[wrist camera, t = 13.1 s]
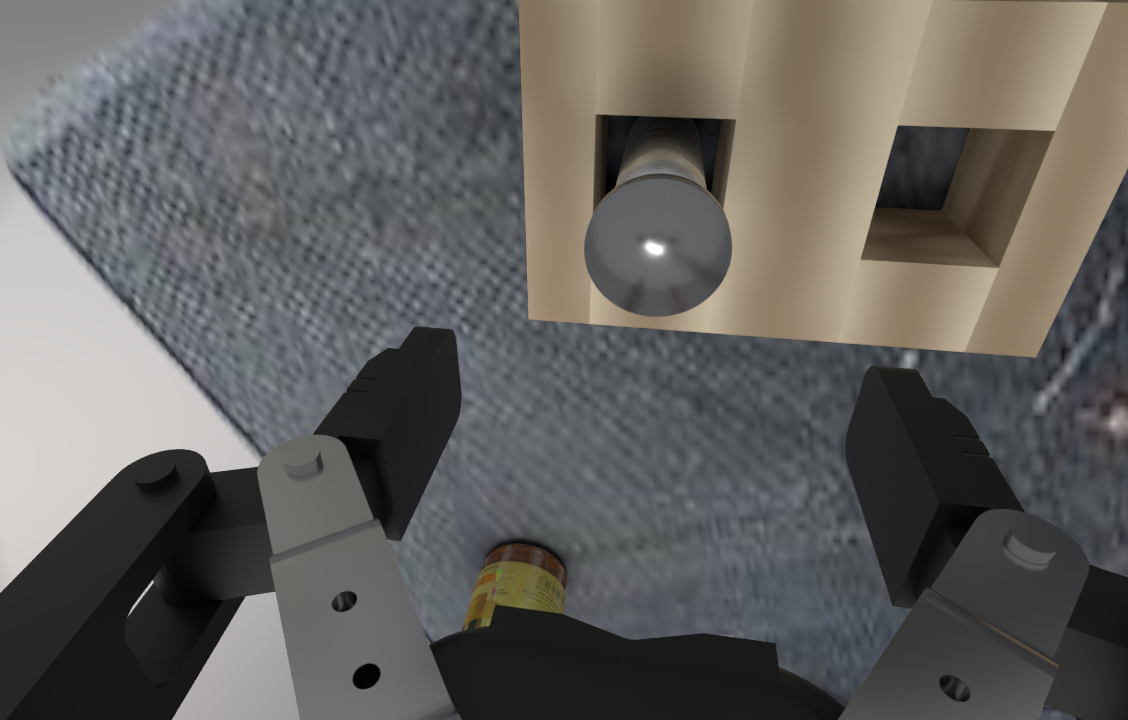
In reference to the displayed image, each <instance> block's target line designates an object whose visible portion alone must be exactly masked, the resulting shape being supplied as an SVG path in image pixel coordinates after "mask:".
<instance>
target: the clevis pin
mask: <svg viewBox="0 0 1128 720" xmlns="http://www.w3.org/2000/svg"><path fill="white" fill-rule="evenodd" d="M731 257H732V238H731V232H730V227H729V223H728V220H727V217H726V214H725V212H724V210H723V208H722V207H721V205H720V204H719V202H718V201H717V200H716V198H715V197H714V196H713V195H712V194H711V193H710V192H709V191H708V190H707V188H706V180H705V172H704V165H703V157H702V149H701V141H700V134H699V130H698V127H697V125H696V123H695V121H694V120H693V119H692V118H683V117H655V116H639V117H638V118H637V119H636V120H635V122H634V123H633V125H632V126H631V128H630V131H629V134H628V138H627V142H626V146H625V150H624V154H623V158H622V162H621V166H620V170H619V175H618V179H617V183H616V187H615V188H614V189H613V190H612V191H610V192H609V193H608V194H607V195H606V196H605V197H604V198H603V199H602V200H601V202H600V203H599V204H598V206H597V207H596V209H595V211H594V213H593V215H592V217H591V220H590V222H589V225H588V228H587V232H586V236H585V242H584V258H585V263H586V267H587V270H588V273H589V275H590V277H591V279H592V281H593V283H594V284H595V286H596V287H597V289H598V290H599V291H600V292H601V293H602V295H603V296H605V297H606V298H607V299H608V300H609V301H610V302H612V303H613V304H615V305H616V306H618V307H620V308H622V309H624V310H626V311H628V312H631V313H634V314H638V315H642V316H649V317H664V316H671V315H676V314H680V313H683V312H686V311H688V310H690V309H692V308H695V307H696V306H698V305H699V304H701V303H703V302H704V301H705V300H706V299H708V298H709V297H710V296H711V295H712V294H713V293H714V292H715V291H716V290H717V288H718V287H719V286H720V284H721V283H722V281H723V279H724V278H725V276H726V274H727V271H728V269H729V266H730V262H731Z"/></svg>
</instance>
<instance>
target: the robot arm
mask: <svg viewBox="0 0 1128 720" xmlns="http://www.w3.org/2000/svg"><path fill="white" fill-rule="evenodd" d="M460 408H461V384H460V374H459V364H458V354H457V344H456V337H455V334H454V331H453V330H451V329H441V328H430V327H418V326H417V327H414V328H413V329H412V331H411V332H410V334H409V335H408V337H407V338H406V339H405V341H404V342H403V344H402V345H401V346H400V348H399V349H394V348H388V349H386V350H385V351H383V352H381V353H380V354H378V355H377V356H375V357H374V358H372V359H370V360H369V361H368V362H367V363H366V365H365V366H364V367H363V369H362V370H361V371H360V372H359V374H358V375H357V376H356V380H353V382H352V383H351V384H350V386H349V387H348V388H347V392H346V393H344V394H343V395H342V396H341V398H340V399H339V400H338V402H337V403H336V404H335V405H334V407H333V408H332V409H331V411H330V412H329V413H328V415H327V416H326V417H325V419H324V420H323V421H322V423H321V424H320V425H319V427H318V428H317V429H316V431H315V432H314V433H313V435H307V436H301V437H297V438H294V439H291V440H288V441H286V442H284V443H282V444H280V445H278V446H277V447H275V448H274V449H272V450H271V451H270V452H269V453H268V454H266V455H265V457H264V458H263V459H262V460H261V462H260V464H259V466H258V467H253V468H245V469H237V470H228V471H221V472H212V473H210V471H209V469H208V466H207V464H206V461H205V459H204V458H203V457H202V456H201V455H200V454H198V453H197V452H194V451H191V450H184V449H175V450H166V451H161V452H158V453H154V454H151V455H148V456H146V457H143V458H141V459H139V460H137V461H135V462H133V463H131V464H130V465H128V466H127V467H125V468H124V469H123V470H121V471H120V472H119V473H118V474H117V475H116V476H115V477H114V478H113V479H112V480H111V481H110V482H109V483H108V484H107V485H106V486H105V487H104V488H103V489H102V490H101V491H100V492H99V493H98V494H97V495H96V496H95V497H94V498H93V499H92V500H91V501H90V502H89V503H88V504H87V505H86V506H85V508H83V510H81V512H79V513H78V514H77V515H76V516H75V518H74V519H73V520H72V521H71V522H70V523H69V524H68V525H67V526H66V527H65V528H64V529H63V530H62V531H61V532H60V533H59V534H58V535H57V536H56V537H55V538H54V539H53V540H52V541H51V542H50V543H49V544H48V545H47V546H46V547H45V548H44V549H43V550H42V551H41V552H40V553H39V554H38V555H37V556H36V557H35V558H34V559H33V560H32V562H30V564H28V566H27V567H26V568H24V569H23V571H22V572H21V573H20V574H19V575H18V576H17V577H16V578H15V579H14V580H13V581H12V582H11V583H10V584H9V585H8V586H7V587H6V588H5V589H4V590H3V591H2V592H1V593H0V720H172V718H173V717H174V715H175V713H176V712H177V710H178V708H179V707H180V705H181V703H182V702H183V700H184V698H185V697H186V695H187V693H188V692H189V690H190V688H191V687H192V685H193V683H194V682H195V680H196V678H197V677H198V675H199V673H200V672H201V670H202V668H203V667H204V665H205V663H206V662H207V660H208V658H209V657H210V655H211V653H212V652H213V650H214V648H215V647H216V645H217V643H218V642H219V640H220V638H221V636H222V635H223V633H224V631H225V630H226V628H227V627H228V625H229V623H230V622H231V620H232V618H233V616H234V615H235V613H236V612H237V610H238V608H239V607H240V605H241V603H242V601H243V600H244V598H245V597H246V596H250V595H256V594H262V593H269V592H276V597H277V602H278V607H279V612H280V617H281V623H282V627H283V633H284V638H285V643H286V648H287V654H288V659H289V664H290V669H291V674H292V680H293V685H294V689H295V695H296V701H297V706H298V711H299V716H300V720H1038V717H1039V715H1040V712H1041V710H1042V707H1043V705H1044V704H1046V705H1048V706H1051V707H1053V708H1055V709H1058V710H1060V711H1063V712H1065V713H1068V714H1070V715H1073V716H1075V717H1076V719H1077V720H1128V577H1125V576H1122V575H1118V574H1115V573H1112V572H1109V571H1106V570H1103V569H1100V568H1098V567H1095V566H1092V565H1089V562H1088V560H1087V557H1086V555H1085V553H1084V552H1083V550H1082V549H1081V548H1080V546H1079V545H1078V544H1077V543H1076V542H1075V541H1074V540H1073V539H1072V538H1071V537H1070V536H1069V535H1067V534H1066V533H1065V532H1063V531H1062V530H1061V529H1059V528H1058V527H1056V526H1054V525H1053V524H1051V523H1049V522H1047V521H1045V520H1043V519H1041V518H1039V517H1036V516H1034V515H1031V514H1028V513H1025V511H1024V509H1023V508H1022V506H1021V505H1020V503H1019V501H1018V500H1017V498H1016V496H1015V495H1014V493H1013V491H1012V490H1011V488H1010V486H1009V485H1008V483H1007V482H1006V480H1005V478H1004V477H1003V475H1002V473H1001V472H1000V470H999V468H998V467H997V465H996V463H995V462H994V460H993V459H992V458H989V455H990V454H989V452H988V450H987V449H986V447H985V445H984V444H983V442H982V441H979V438H980V437H979V436H978V434H977V432H976V431H975V429H974V427H973V426H972V424H971V422H970V421H969V419H968V418H967V417H966V416H965V415H964V414H963V413H962V412H960V411H959V410H958V409H957V408H955V407H954V406H953V405H952V404H950V403H949V402H948V401H947V400H946V399H943V398H933V397H932V395H931V394H930V392H929V390H928V388H927V386H926V385H925V383H924V381H923V379H922V378H921V376H920V374H919V373H918V371H917V370H915V369H905V368H893V367H881V366H871V367H870V368H869V369H868V370H867V372H866V374H865V377H864V380H863V383H862V386H861V390H860V393H859V396H858V399H857V402H856V405H855V409H854V412H853V415H852V418H851V421H850V424H849V428H848V431H847V436H846V444H845V453H846V461H847V465H848V468H849V471H850V474H851V477H852V480H853V484H854V487H855V490H856V493H857V496H858V499H859V502H860V505H861V508H862V512H863V515H864V518H865V521H866V524H867V527H868V530H869V533H870V536H871V540H872V543H873V546H874V549H875V552H876V555H877V558H878V561H879V565H880V568H881V571H882V574H883V577H884V580H885V583H886V586H887V589H888V593H889V596H890V599H891V602H892V605H893V606H896V607H904V608H911V611H910V612H909V614H908V615H907V617H906V618H905V620H904V621H903V623H902V624H901V626H900V627H899V629H898V630H897V632H896V633H895V635H894V636H893V638H892V639H891V641H890V642H889V644H888V645H887V647H886V648H885V650H884V651H883V653H882V654H881V656H880V657H879V659H878V660H877V662H876V663H875V665H874V666H873V668H872V669H871V671H870V672H869V674H868V675H867V677H866V678H865V680H864V681H863V683H862V684H861V686H860V687H859V689H858V690H857V692H856V693H855V695H854V696H853V698H852V699H851V701H850V702H849V704H848V705H847V707H846V708H844V707H843V706H842V705H841V704H840V703H838V702H837V701H836V700H834V699H833V698H832V697H831V696H829V695H828V694H827V693H825V692H824V691H823V690H821V689H820V688H818V687H816V686H815V685H813V684H812V683H810V682H808V681H807V680H805V679H803V678H801V677H799V676H797V675H795V674H793V673H791V672H789V671H787V670H784V669H782V668H779V666H778V659H777V651H776V644H775V643H770V642H763V641H756V640H749V639H741V638H734V637H727V636H720V635H712V634H705V633H702V634H691V635H681V636H671V637H661V638H650V639H640V640H631V639H626V638H623V637H620V636H618V635H615V634H613V633H610V632H607V631H605V630H602V629H600V628H597V627H595V626H592V625H589V624H587V623H584V622H582V621H579V620H577V619H574V618H571V617H569V616H566V615H564V614H561V613H554V612H546V611H539V610H532V609H525V608H518V607H510V606H503V605H496V604H495V608H494V611H493V615H492V618H491V622H490V625H489V626H483V627H477V628H472V629H468V630H463V631H460V632H457V633H454V634H451V635H449V636H446V637H444V638H442V639H440V640H438V641H435V642H433V643H431V644H430V645H429V644H428V641H427V639H426V636H425V634H424V631H423V629H422V626H421V624H420V621H419V619H418V616H417V614H416V611H415V609H414V606H413V604H412V601H411V598H410V596H409V593H408V591H407V588H406V586H405V583H404V581H403V578H402V576H401V573H400V571H399V568H398V566H397V563H396V561H395V558H394V556H393V553H392V551H391V548H390V546H389V543H388V541H387V539H389V540H396V541H401V539H402V537H403V535H404V533H405V531H406V529H407V526H408V524H409V522H410V520H411V518H412V516H413V514H414V512H415V510H416V507H417V505H418V503H419V501H420V499H421V497H422V495H423V493H424V491H425V488H426V486H427V484H428V482H429V480H430V478H431V476H432V474H433V471H434V469H435V467H436V465H437V463H438V461H439V459H440V457H441V455H442V452H443V450H444V448H445V446H446V444H447V442H448V440H449V438H450V435H451V433H452V431H453V429H454V427H455V425H456V423H457V420H458V417H459V413H460ZM152 580H153V581H154V583H153V585H152V586H151V587H150V589H149V590H148V591H147V592H146V594H145V595H144V596H143V598H142V599H141V600H140V602H139V603H138V604H137V606H136V607H135V608H134V610H133V611H132V612H131V614H130V615H129V616H128V614H129V612H130V610H131V608H132V606H133V605H134V604H135V602H136V601H137V600H138V598H139V597H140V596H141V594H142V593H143V592H144V590H145V589H146V588H147V586H148V585H149V584H150V583H151V581H152ZM127 617H128V618H127Z"/></svg>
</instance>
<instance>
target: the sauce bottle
mask: <svg viewBox="0 0 1128 720" xmlns="http://www.w3.org/2000/svg"><path fill="white" fill-rule="evenodd" d="M566 584H567V577H566V572H565V569H564V568H563V566H562V565H561V564H560V562H559V560H558V559H557V558H556V557H555V556H553V555H552V554H550V553H549V552H547V551H546V550H545V549H542V548H539V547H535V546H531V545H526V544H519V543H512V544H508V545H504V546H501V547H499V548H497V549H496V550H494V551H493V552H492V553H491V554H490V555H489V556H488V558H487V559H486V560H485V563H484V567H483V568H482V571H481V572H480V574H479V575H478V578H477V581H476V585H475V588H474V591H473V595H472V598H471V601H470V605H469V608H468V611H467V615H466V618H465V621H464V625H463V628H462V631H463V630H468V629H472V628H477V627H483V626H489V625H490V622H491V618H492V615H493V611H494V608H495V604H496V605H503V606H510V607H518V608H525V609H532V610H539V611H546V612H554V613H561V614H563V610H564V604H565V587H566Z"/></svg>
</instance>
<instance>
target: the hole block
mask: <svg viewBox="0 0 1128 720" xmlns="http://www.w3.org/2000/svg"><path fill="white" fill-rule="evenodd" d="M519 24H520V56H521V89H522V121H523V153H524V185H525V217H526V249H527V281H528V314H529V319H532V320H546V321H559V322H572V323H585V324H599V325H612V326H625V327H638V328H652V329H665V330H678V331H691V332H705V333H718V334H731V335H744V336H758V337H771V338H784V339H798V340H811V341H824V342H837V343H851V344H864V345H877V346H890V347H904V348H917V349H930V350H943V351H957V352H970V353H983V354H996V355H1010V356H1023V357H1036V356H1037V354H1038V352H1039V350H1040V348H1041V346H1042V344H1043V342H1044V340H1045V338H1046V336H1047V334H1048V331H1049V329H1050V327H1051V325H1052V323H1053V321H1054V319H1055V317H1056V315H1057V313H1058V311H1059V309H1060V307H1061V305H1062V303H1063V301H1064V299H1065V296H1066V294H1067V292H1068V290H1069V288H1070V286H1071V284H1072V282H1073V280H1074V278H1075V276H1076V274H1077V272H1078V270H1079V268H1080V266H1081V264H1082V262H1083V259H1084V257H1085V255H1086V253H1087V251H1088V249H1089V247H1090V245H1091V243H1092V241H1093V239H1094V237H1095V235H1096V233H1097V231H1098V229H1099V227H1100V224H1101V222H1102V220H1103V218H1104V216H1105V214H1106V212H1107V210H1108V208H1109V206H1110V204H1111V202H1112V200H1113V198H1114V196H1115V194H1116V192H1117V189H1118V187H1119V185H1120V183H1121V181H1122V179H1123V177H1124V175H1125V173H1126V171H1127V169H1128V0H519ZM609 115H627V116H655V117H683V118H711V119H721V121H720V129H719V136H718V144H717V151H716V159H715V167H714V174H713V182H712V189H711V194H712V195H713V196H714V197H715V198H716V200H717V201H718V202H719V204H720V205H721V207H722V208H723V210H724V212H725V214H726V217H727V220H728V223H729V227H730V232H731V238H732V257H731V262H730V266H729V269H728V271H727V274H726V276H725V278H724V279H723V281H722V283H721V284H720V286H719V287H718V288H717V290H716V291H715V292H714V293H713V294H712V295H711V296H710V297H709V298H708V299H706V300H705V301H704V302H703V303H701V304H699V305H698V306H696V307H695V308H692V309H690V310H688V311H686V312H683V313H680V314H676V315H671V316H664V317H649V316H642V315H638V314H634V313H631V312H628V311H626V310H624V309H622V308H620V307H618V306H616V305H615V304H613V303H612V302H610V301H609V300H608V299H607V298H606V297H605V296H603V295H602V293H601V292H600V291H599V290H598V289H597V287H596V286H595V284H594V283H593V281H592V279H591V277H590V275H589V273H588V270H587V267H586V263H585V258H584V242H585V236H586V232H587V228H588V225H589V222H590V220H591V217H592V215H593V213H594V211H595V209H596V207H597V206H598V204H599V203H600V202H601V200H602V199H603V198H604V197H605V196H606V195H607V193H606V175H607V149H608V124H609ZM898 125H905V126H933V127H960V128H969V131H968V134H967V137H966V140H965V143H964V146H963V149H962V152H961V155H960V158H959V161H958V164H957V167H956V170H955V173H954V175H953V178H952V181H951V184H950V187H949V190H948V193H947V196H946V199H945V202H944V205H943V208H942V210H923V209H903V208H883V207H875V205H876V201H877V198H878V194H879V191H880V187H881V184H882V180H883V176H884V173H885V169H886V166H887V162H888V158H889V155H890V151H891V148H892V144H893V140H894V137H895V133H896V130H897V126H898Z"/></svg>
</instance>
